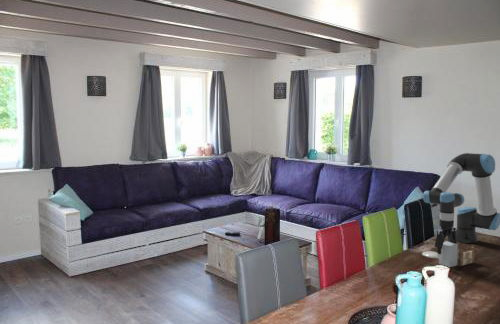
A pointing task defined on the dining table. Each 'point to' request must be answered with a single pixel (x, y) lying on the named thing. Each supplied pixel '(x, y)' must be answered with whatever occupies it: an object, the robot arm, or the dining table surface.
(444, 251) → the supplement box
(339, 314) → the dining table surface
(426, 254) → the disc
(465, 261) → the shelf bay
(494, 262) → the dining table surface
